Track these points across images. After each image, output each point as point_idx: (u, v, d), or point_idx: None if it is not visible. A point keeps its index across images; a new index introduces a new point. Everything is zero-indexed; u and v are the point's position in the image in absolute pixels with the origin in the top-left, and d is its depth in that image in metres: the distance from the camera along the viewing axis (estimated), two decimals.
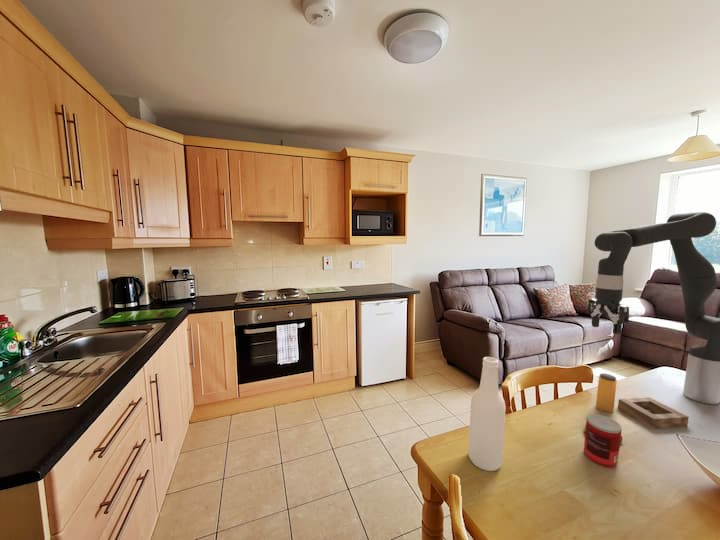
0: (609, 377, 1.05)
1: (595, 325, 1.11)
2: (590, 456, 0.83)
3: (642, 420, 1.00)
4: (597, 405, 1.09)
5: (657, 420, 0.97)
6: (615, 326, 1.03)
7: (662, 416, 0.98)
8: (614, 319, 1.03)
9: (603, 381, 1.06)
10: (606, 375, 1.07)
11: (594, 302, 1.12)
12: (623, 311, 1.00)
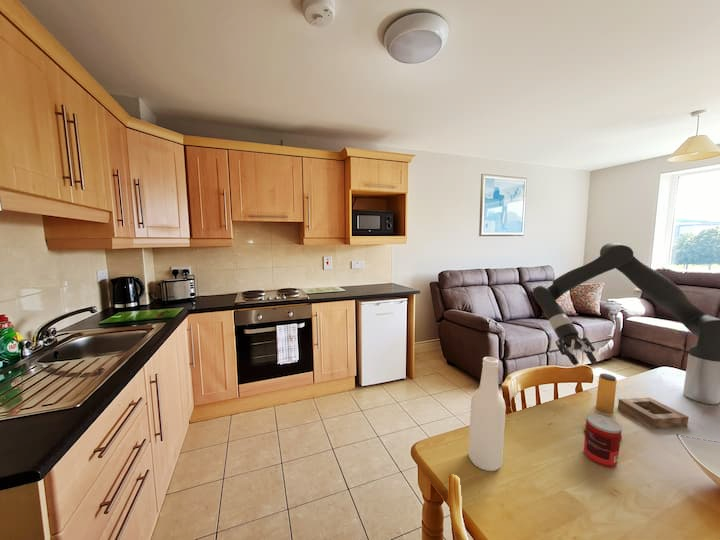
0: (609, 377, 1.05)
1: (592, 361, 1.17)
2: (590, 456, 0.83)
3: (642, 420, 1.00)
4: (597, 405, 1.09)
5: (657, 420, 0.97)
6: None
7: (662, 416, 0.98)
8: None
9: (603, 381, 1.06)
10: (606, 375, 1.07)
11: None
12: (557, 344, 1.20)
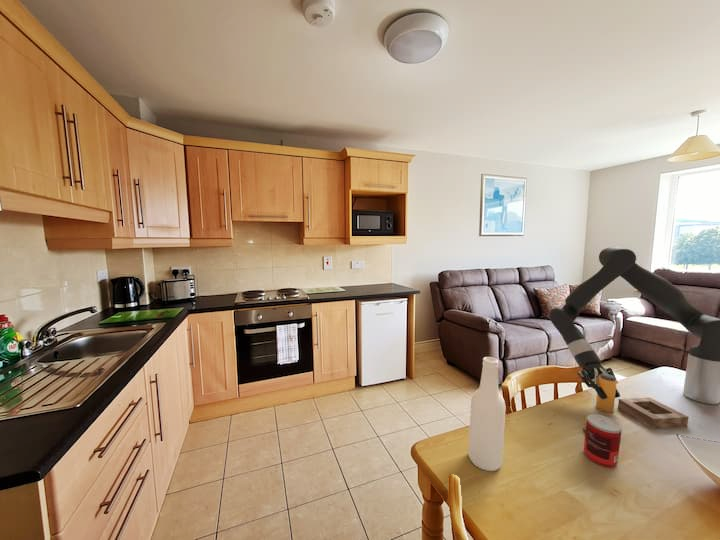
0: (609, 377, 1.05)
1: None
2: (590, 456, 0.83)
3: (642, 420, 1.00)
4: (597, 405, 1.09)
5: (657, 420, 0.97)
6: (597, 391, 1.07)
7: (662, 416, 0.98)
8: None
9: (603, 381, 1.06)
10: (606, 375, 1.07)
11: None
12: (581, 376, 1.10)
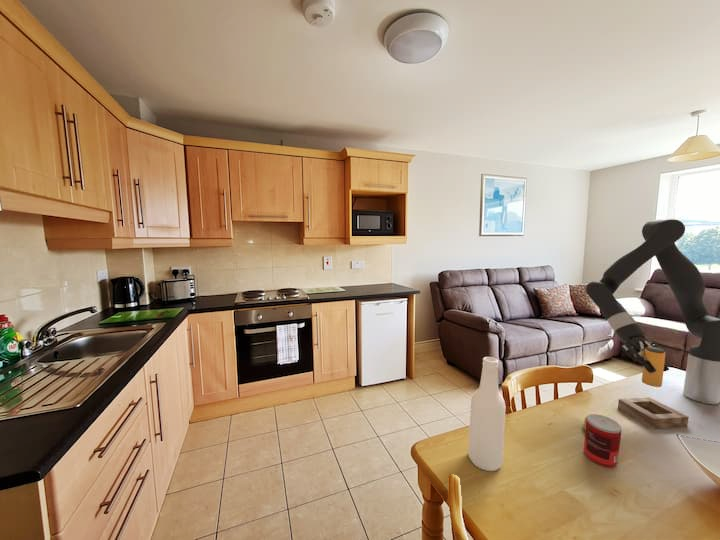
0: (657, 350, 1.00)
1: None
2: (590, 456, 0.83)
3: (642, 420, 1.00)
4: (643, 380, 1.03)
5: (657, 420, 0.97)
6: None
7: (662, 416, 0.98)
8: None
9: (651, 354, 1.00)
10: (653, 348, 1.02)
11: None
12: (625, 350, 1.05)
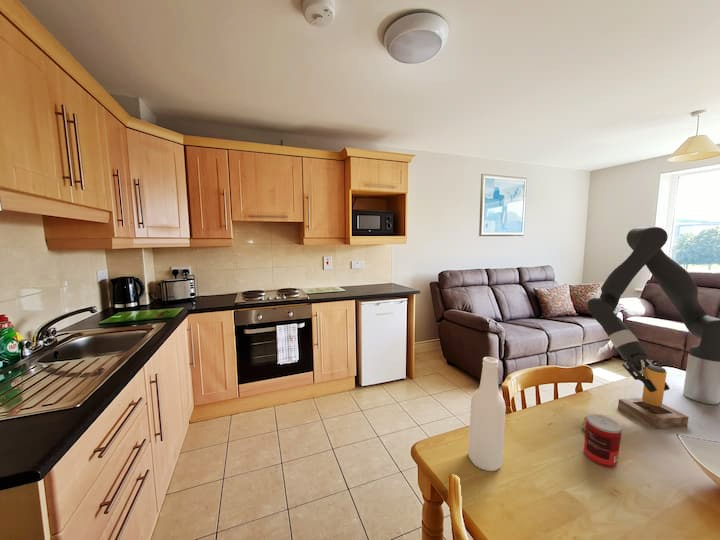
0: (658, 369, 1.00)
1: None
2: (590, 456, 0.83)
3: (642, 420, 1.00)
4: (643, 398, 1.03)
5: (657, 420, 0.97)
6: None
7: (662, 416, 0.98)
8: None
9: (652, 373, 1.01)
10: (654, 367, 1.02)
11: None
12: (626, 368, 1.05)
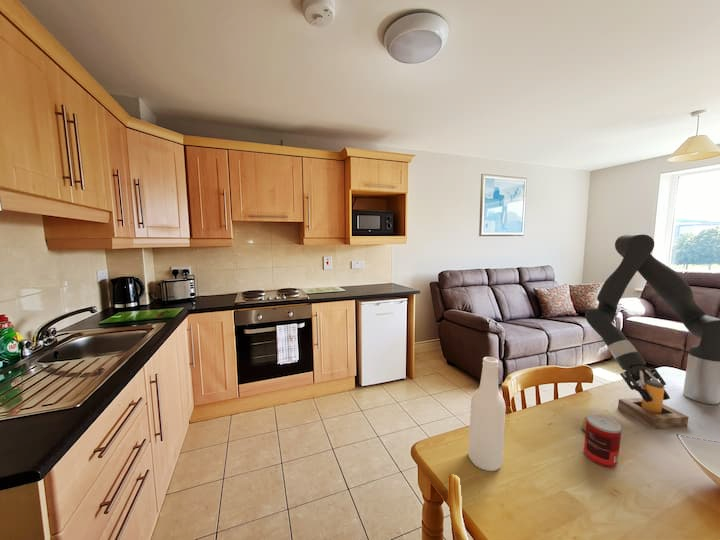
0: (656, 384, 1.01)
1: (663, 397, 1.02)
2: (590, 456, 0.83)
3: (642, 420, 1.00)
4: None
5: (657, 420, 0.97)
6: None
7: (662, 416, 0.98)
8: None
9: (650, 388, 1.01)
10: (652, 381, 1.03)
11: None
12: (623, 377, 1.06)
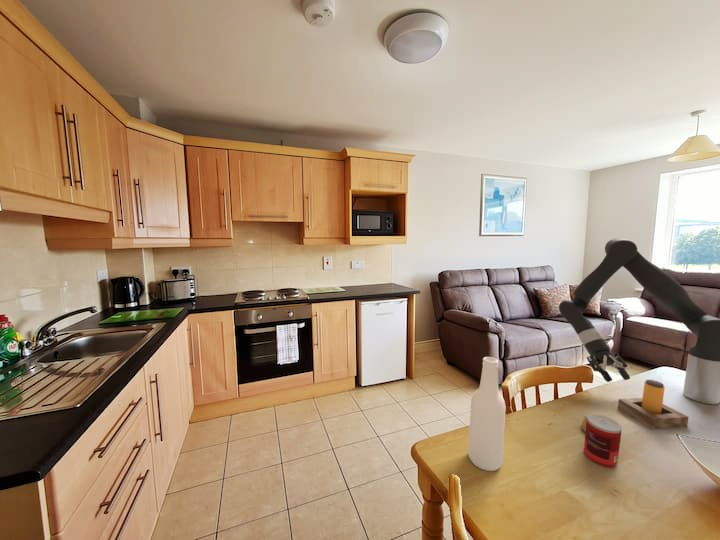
0: (656, 384, 1.01)
1: (625, 378, 1.15)
2: (590, 456, 0.83)
3: (642, 420, 1.00)
4: None
5: (657, 420, 0.97)
6: None
7: (662, 416, 0.98)
8: None
9: (650, 388, 1.01)
10: (652, 381, 1.03)
11: None
12: (589, 360, 1.19)
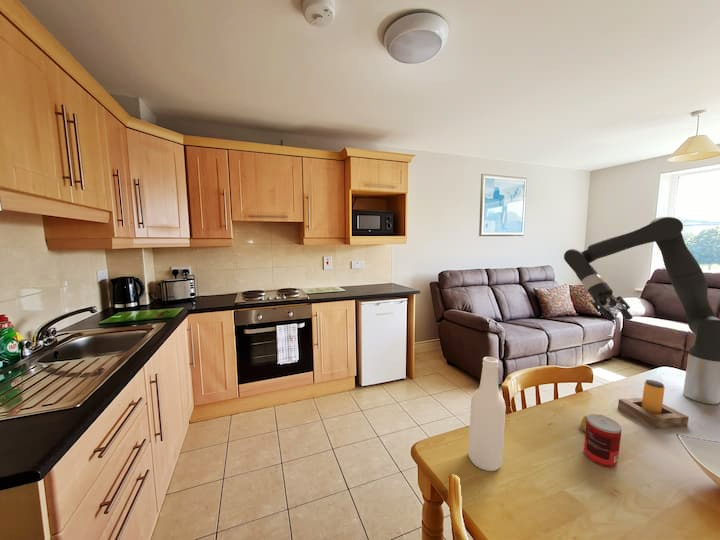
0: (656, 384, 1.01)
1: (627, 318, 1.18)
2: (590, 456, 0.83)
3: (642, 420, 1.00)
4: None
5: (657, 420, 0.97)
6: None
7: (662, 416, 0.98)
8: None
9: (650, 388, 1.01)
10: (652, 381, 1.03)
11: None
12: (592, 302, 1.21)
